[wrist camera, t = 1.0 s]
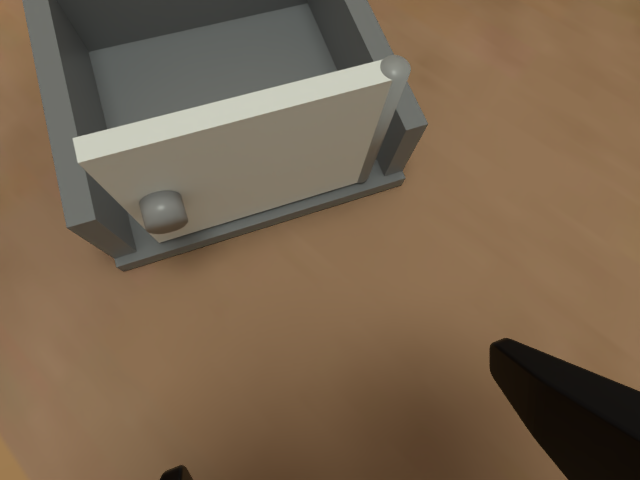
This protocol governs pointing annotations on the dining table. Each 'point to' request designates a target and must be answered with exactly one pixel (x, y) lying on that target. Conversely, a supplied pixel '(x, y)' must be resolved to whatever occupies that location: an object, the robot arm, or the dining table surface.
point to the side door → (247, 149)
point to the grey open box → (193, 91)
